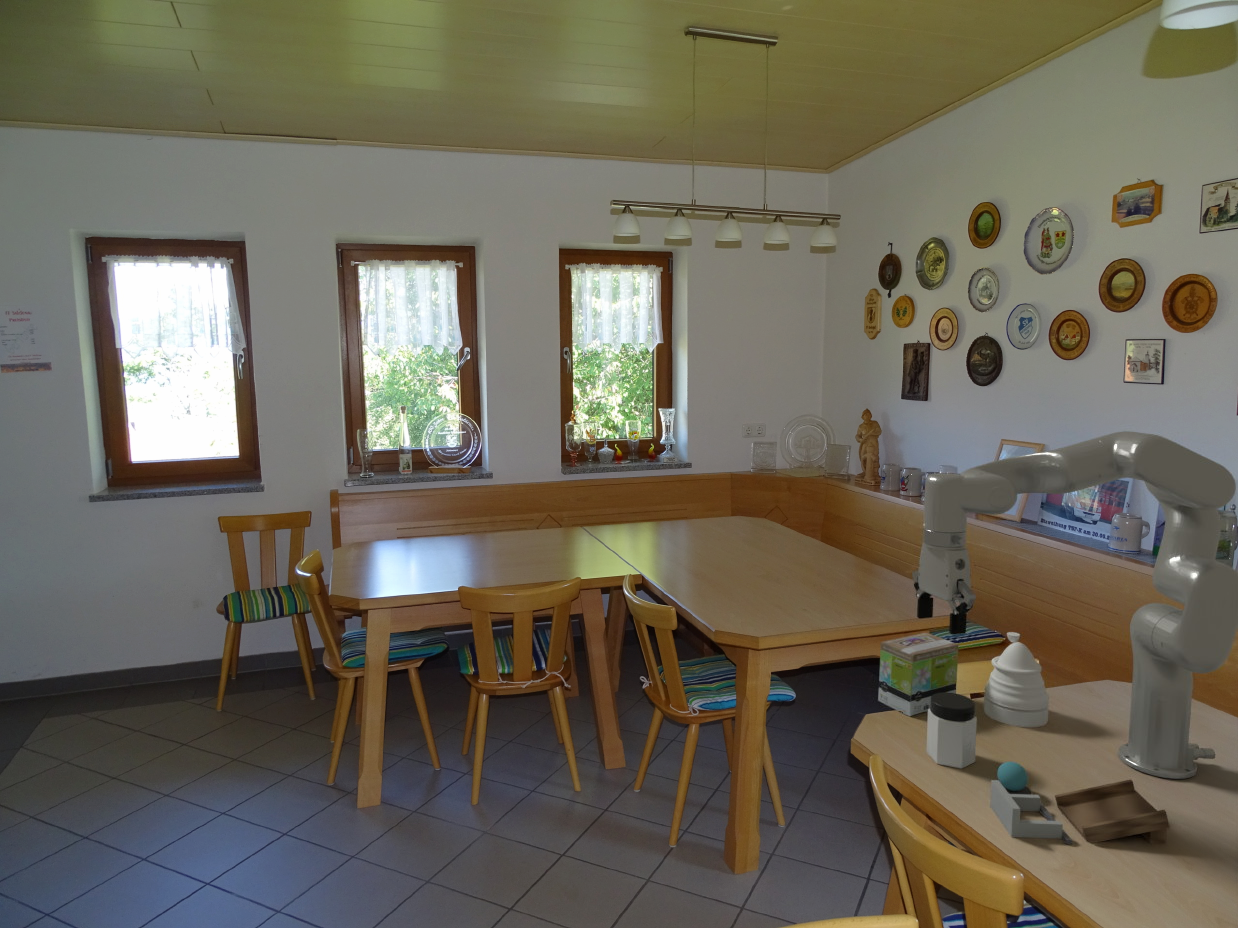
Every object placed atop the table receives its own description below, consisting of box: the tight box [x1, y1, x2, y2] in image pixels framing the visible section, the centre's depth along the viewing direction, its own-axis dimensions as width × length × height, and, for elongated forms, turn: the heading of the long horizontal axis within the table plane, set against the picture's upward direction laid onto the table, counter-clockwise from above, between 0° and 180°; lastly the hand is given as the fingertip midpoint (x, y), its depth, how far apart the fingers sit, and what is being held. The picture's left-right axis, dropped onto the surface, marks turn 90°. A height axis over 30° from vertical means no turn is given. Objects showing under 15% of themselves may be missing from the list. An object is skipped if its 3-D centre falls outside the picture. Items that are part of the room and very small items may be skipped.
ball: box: [997, 761, 1029, 791], centre depth 141 cm, size 5×5×5 cm
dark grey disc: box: [999, 781, 1033, 795], centre depth 141 cm, size 6×6×1 cm
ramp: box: [1054, 779, 1170, 844], centre depth 130 cm, size 13×10×6 cm
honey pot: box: [983, 631, 1050, 728], centre depth 172 cm, size 13×13×18 cm
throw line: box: [1039, 801, 1073, 845], centre depth 131 cm, size 1×12×1 cm, turn 175°
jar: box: [926, 692, 978, 769], centre depth 153 cm, size 9×8×12 cm
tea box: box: [877, 632, 959, 717], centre depth 179 cm, size 15×10×15 cm
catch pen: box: [989, 779, 1064, 840], centre depth 131 cm, size 8×9×5 cm
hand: (940, 625), depth 148 cm, fingers open, 9 cm apart
